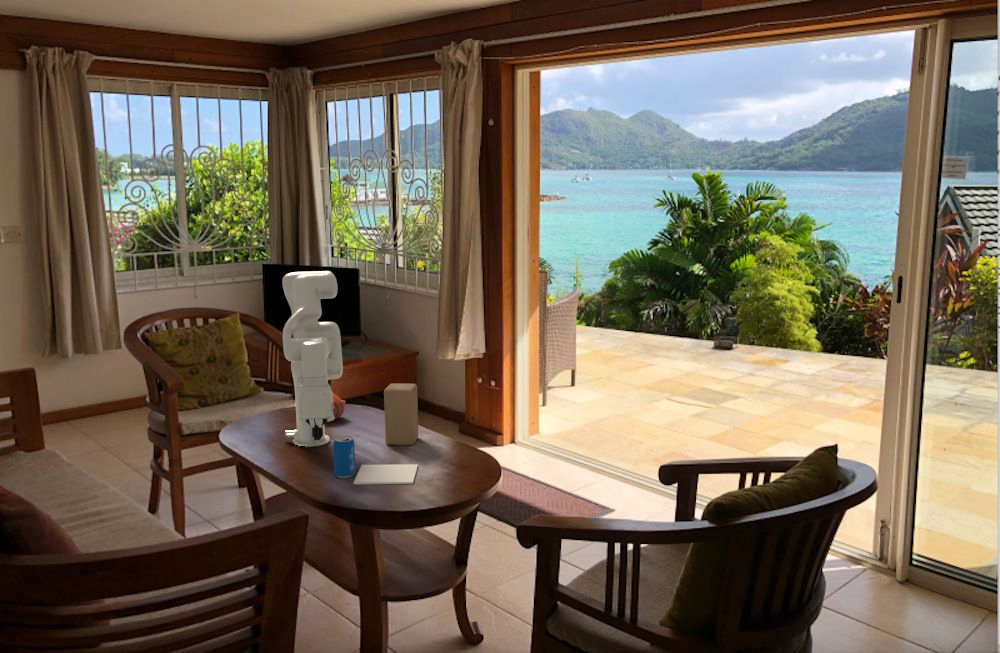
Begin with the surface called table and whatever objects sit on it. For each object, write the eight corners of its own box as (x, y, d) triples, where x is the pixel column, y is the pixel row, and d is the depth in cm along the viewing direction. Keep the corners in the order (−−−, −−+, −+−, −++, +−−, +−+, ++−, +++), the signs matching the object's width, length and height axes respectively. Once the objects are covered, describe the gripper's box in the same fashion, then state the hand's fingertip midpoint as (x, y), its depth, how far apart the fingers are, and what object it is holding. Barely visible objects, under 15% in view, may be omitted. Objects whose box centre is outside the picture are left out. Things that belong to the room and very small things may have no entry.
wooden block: (418, 437, 299) (417, 383, 295) (413, 446, 289) (411, 390, 285) (391, 436, 300) (389, 382, 296) (385, 445, 290) (383, 389, 286)
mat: (353, 484, 253) (353, 482, 253) (362, 466, 269) (361, 464, 269) (412, 483, 253) (412, 482, 253) (417, 466, 269) (417, 464, 269)
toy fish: (335, 414, 330) (333, 385, 328) (351, 419, 323) (349, 390, 321) (309, 420, 321) (307, 391, 319) (324, 425, 314) (323, 396, 312)
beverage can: (345, 480, 256) (344, 442, 254) (330, 476, 260) (328, 439, 258) (359, 474, 262) (358, 437, 260) (344, 470, 265) (342, 434, 263)
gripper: (287, 384, 252) (290, 443, 254) (337, 383, 252) (339, 442, 254) (293, 378, 259) (296, 436, 262) (341, 378, 259) (344, 435, 262)
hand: (317, 439), depth 258 cm, fingers closed
